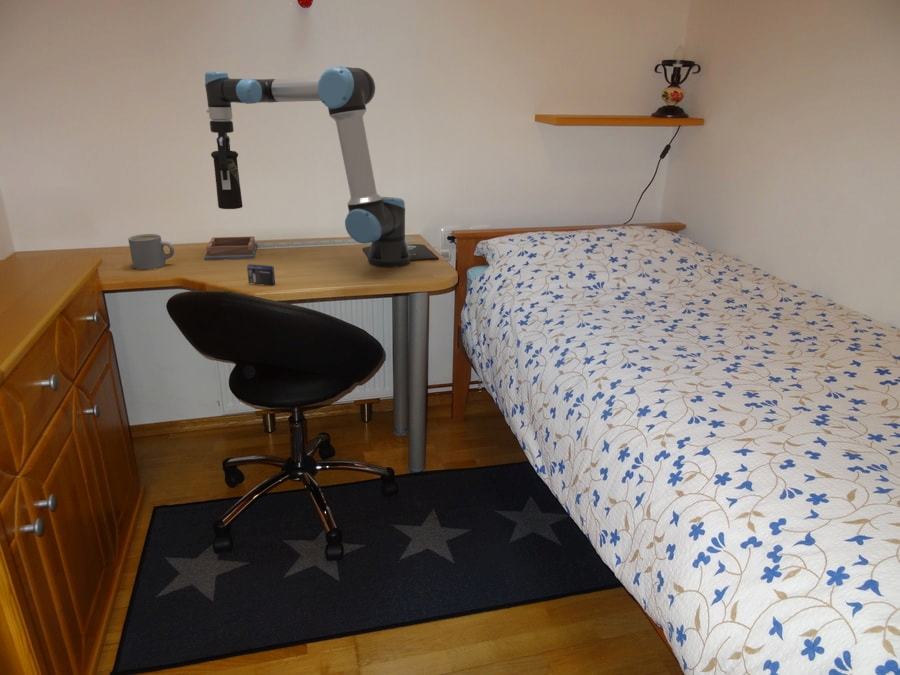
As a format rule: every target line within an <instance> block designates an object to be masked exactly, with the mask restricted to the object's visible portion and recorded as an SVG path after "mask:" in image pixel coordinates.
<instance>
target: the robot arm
mask: <svg viewBox="0 0 900 675" xmlns="http://www.w3.org/2000/svg"><path fill="white" fill-rule="evenodd" d="M204 86H205V91H206V92H205V93H206V100H207V107H208V109H206V112H207V113H208V117H209V119H210V121H209V127H210V132H211V133H215V134H216V133H217V138H216V143H217V151H218V156H219V168H218V171H221V179H222V188H223V190H231V185H230V175H229V170H228V160H227V157H226V154H227V152H228V151H231V144H230V143H231V140H230V136H229V135H228V134H229V133H233V132H234V123H233V111H232V110H233V109H232V103H237V104H239V103H240V104H246V105H249V104H250V105H251V104H252V105H253V104H257V103H258V104H259V103H260V104H261V103H268V104H270V103H272V104H273V103H281V102H282V103H286V102H287V103H289V102H290V103H291V102H294V103H295V102H321V103H322V104H323V105H324V106H326V107H327V110H328V114H329V117H330V118H331V119H332V120H334V121H335V125H336V130H337V134H338V138H339V139H338V140H339V145H340V150H341V155H342V159H343V165H344V170H345V175H346V179H347V184H348V190H349V195H350V199H349V200H348V202H347V209H348V213H347V215H346V217H345V220H344V227H345V230H346V232H347V234H348V235H349V237H350V238H352V239H353V240H354V241H355V242H357V243H359V244H365V245H366V244H370V243H371V244H370V247H369V251H368V254H367V263H368V262H369V263H370V264H369V263H368V264H369V265H371V264H372V266H374V265H375V267H379V266H381V267H382V268H396V267H395V266H398V267H403V266H406V264H407V265H408V264H410V263H409V262H411V253H410V252H409V249H408V246H407V242H406V205H405V204H406V203H405V200H404V199H403V198H399V197H389V196H381V195H380V194H378V193H377V187H376V182H375V177H374V171H373V166H372V160H371V155H370V150H369V144H368V139H367V138H368V137H367V133H366V128H365V123H364V122H365V121H364V115H365V113H366V112H367V108H366V105H368V104H369V103H370V102H371V101H372V100H373V98H374V96H375V93H376V83H375V81H374V78H373V77H372V75H371V74H370V73H369V72H368V71H366V69H363V68H360V67H350V66H348V67H347V66H335V67H334V66H333V67H329V68H328V69H326V70H325V71H324V72H323V73H322V74H321V76H311V77H310V76H309V77H308V76H307V77H289V78H287V77H286V78H266V79H265V78H261V79H257V78H255V79H254V78H229V74H228V73H227V72H226V71H207V72H205V74H204ZM381 267H380V268H381Z"/></svg>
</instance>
